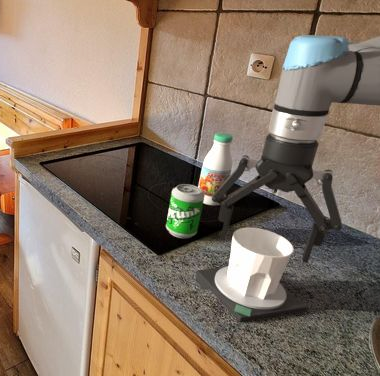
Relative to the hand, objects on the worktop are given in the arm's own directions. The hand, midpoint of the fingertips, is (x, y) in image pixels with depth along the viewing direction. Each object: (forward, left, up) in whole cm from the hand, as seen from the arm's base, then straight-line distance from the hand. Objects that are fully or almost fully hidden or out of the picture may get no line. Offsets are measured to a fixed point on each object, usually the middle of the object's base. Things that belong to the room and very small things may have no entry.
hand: (262, 247), depth 75 cm
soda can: (+25, 0, -12) cm, 28 cm away
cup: (0, 0, -9) cm, 9 cm away
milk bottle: (+40, -18, -12) cm, 46 cm away
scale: (0, 0, -12) cm, 12 cm away
